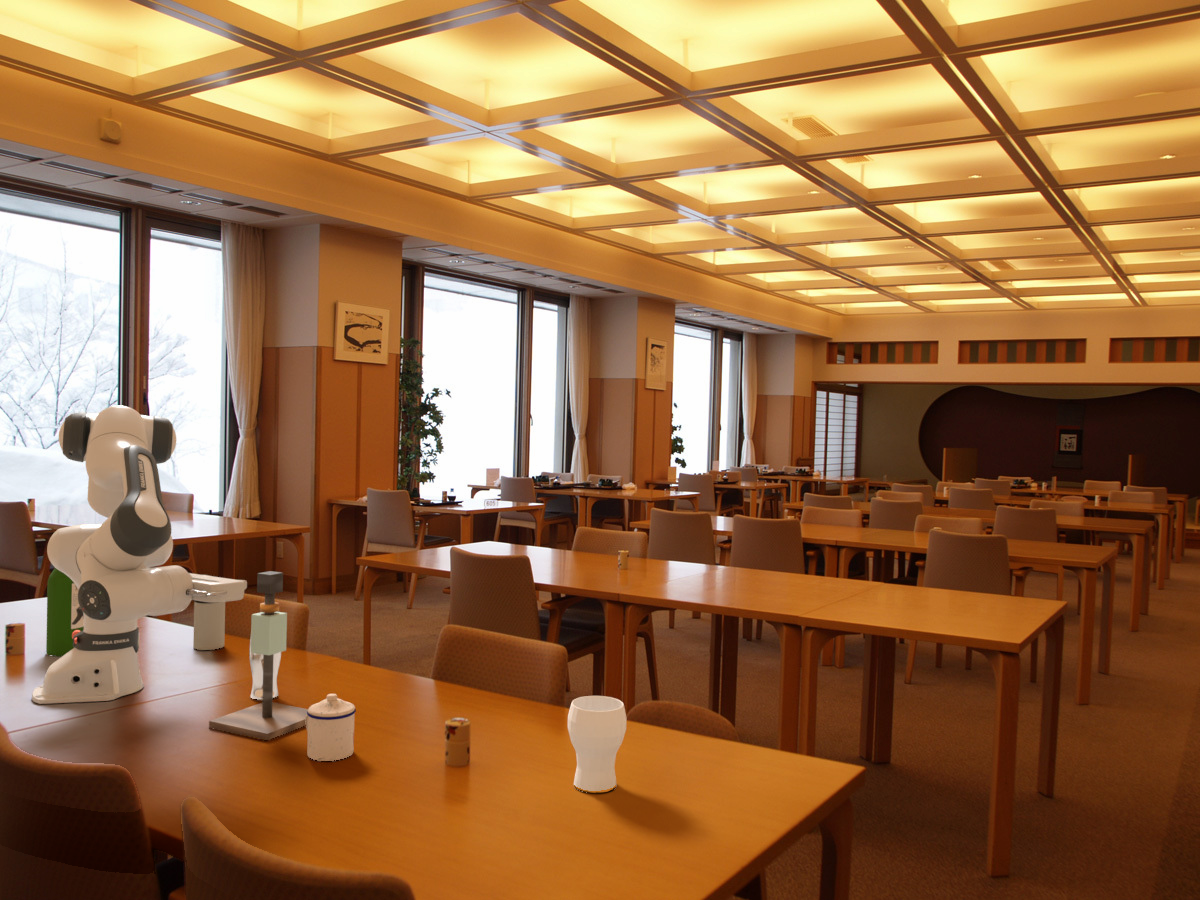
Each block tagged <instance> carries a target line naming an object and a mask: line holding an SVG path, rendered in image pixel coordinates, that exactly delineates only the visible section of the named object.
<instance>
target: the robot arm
mask: <svg viewBox="0 0 1200 900" xmlns="http://www.w3.org/2000/svg"><path fill="white" fill-rule="evenodd" d="M173 425H174V424H173V423H172V422H171V421H170V420H169V419H168V418H165V417H163V416H158V415H153V416H150V415H144V414H140V413H139V412H138V411H137V410H136V409H134V408H132V407H130V406H126V405H113V406H112V405H111V406H109V407H106V408H104V409H103V410H101V411H99V412H90V413H87V411H80V412H79V411H78V412H74V413H71V414H69V415H67V417H65V419H64V421H63V422H62V423H61V426H60V428H59V431H58V443H59V446H60V449H61V451H62V454H63V456H65V458H66V459H69V460H72V461H75V462H78V463H84V462H85V469H86V473H87V476H88V483H87V484H88V486H87V501H88V505H89V506H90V507H91V509H92V510H93V511H94V512H95V513H97V514H98V515H101V516H102V517H105V518H107V519H106V520H105V521H103V523H83V524H75V525H69V526H66V527H61V528H58V529H56V531H54V532H53V534H52V535H51V536H50V537H49V540H48V543H47V549H46V553H47V558H48V560H49V562H50V564H51V565H52V566H53V567H54V569H55V568H56V569H58V570H59V571H61V572H63V573H64V574H66V575H67V576H68V577H69V578H70V579H71V580H72V581H73V582H74V583H75V585H76V586H77V588H78V602H79V606H80V608H81V610H82V611H83V616H84V630H83V631H81V632H80V630H75V631H74V632H73V633H72V638H73V647H74V648H73V649H72V650H70V651H69V652H68V653H66V654H65V655H64V656H60V657H58V659H57V660H56V661H53V663H52V664H51V665H49V667H48V668H47V670H46V673H45V675H44V679H43V684H40V685H39V686H37V687H35V688H34V689H33V692H32V693H31V695H32V696H31V700H32V702H34V703H35V704H39V705H41V704H42V705H45V704H48V705H49V704H62V703H65V704H67V703H68V704H69V703H84V702H85V703H87V702H88V703H89V702H105V701H107V702H109V701H113V700H115V699H119V698H121V697H123V696H127V695H130V694H133V693H134V694H135V693H137V692H139V691H140V690H142V689H144V682H143V679H142V676H141V671H140V664H139V655H138V653H139V649H140V636H141V635H140V629H139V627H138V620H139V619H140V620H141V619H142V618H144V617H147V616H150V617H151V616H152V617H157V616H165V615H170V614H175V613H176V614H177V613H181V612H183V611H185V610H186V609H187V608H188V607H189V605H190V604H191V602H192V601H194V600H196V601H202V602H211V603H216V602H225V603H228V602H233V601H234V602H235V601H240V600H243V599H244V597H245V596H244V595H245V590H246V589H247V588H248V582H247V581H248V580H245V579H233V578H228V577H227V578H226V577H221V576H219V577H218V576H214V575H213V576H212V575H210V574H209V575H208V574H198V573H191V572H188V570H187V569H185V568H184V567H182V566H181V565H166V566H165V565H164V564H165V563H166V562H167V561H168V560H169V558H171V554H172V552H173V550H174V541H173V536H172V524H171V520H170V517H169V514H168V512H167V510H166V508H165V505H164V501H163V496H162V490H161V489H162V488H161V481H160V473H159V470H158V469H159V468H158V465H160V464H165V463H166V462H167V461H169V460H170V459H171V458H172V455H173V453H174V451H175V449H176V445H177V435H176V431H175V428H174V426H173ZM162 565H164V566H162Z"/></svg>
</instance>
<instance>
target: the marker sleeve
mask: <svg viewBox="0 0 1200 900" xmlns="http://www.w3.org/2000/svg"><path fill="white" fill-rule="evenodd" d="M250 623H251V624H250V625H251V626H250V627H251V628H250V630H251V631H250V638H251V653H257V654H263V655H272V654H276V653H279V652H281V653H282V652H286V651H287V633H288V630H287V629H288V612H283V611H282V612H281V611H277V612H274V615H270V616H269V615H264V612H260V611H259V612H257V613H252V614H251V621H250Z"/></svg>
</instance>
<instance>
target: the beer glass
mask: <svg viewBox="0 0 1200 900" xmlns="http://www.w3.org/2000/svg"><path fill="white" fill-rule="evenodd" d="M248 656H249V665H250V672H251V676H252V685H251V686H252V687H251V693H250V699H251V698H252V699H251V700H253V699H257V700H256V701H263V654H257V653H251V637H250V639H249V655H248ZM281 657H282V652H279V653H276V654H274V657H273V698H274V699H276V698H278V697H279V689H278V673H279V668H280V664H281ZM277 696H278V697H277ZM275 697H276V698H275Z"/></svg>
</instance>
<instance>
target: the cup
mask: <svg viewBox="0 0 1200 900" xmlns="http://www.w3.org/2000/svg"><path fill="white" fill-rule="evenodd" d="M569 706H570V707H569V710H568V714H567V731H568V735H569V739H570V742H571V744H572V746H573V748H574V751H575V755H576V756H575V757H576V769H575V774H574V779H573V786H574V785H575V786H576V787H578V788H581V789H583V790H588V791H601V790H607V789H610V788H613V787H614V786H615V785H616V786H617V777H616V771H615V770H616V769H615V768H616V767H615V765H616V758H617V753H618V751H619V749H620V747H621V745H622V744H623V742H624V737H625V734H626V731H627V719H628V718H627V714H626V709H625V708H626V707H625V705H624V702H623V701H621V700H620V699H618V698H615V697H612V696H606V695H605V696H604V695H588V696H587V695H586V696H579V697H577V698H574V699H572V701H571V704H570V705H569Z"/></svg>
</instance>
